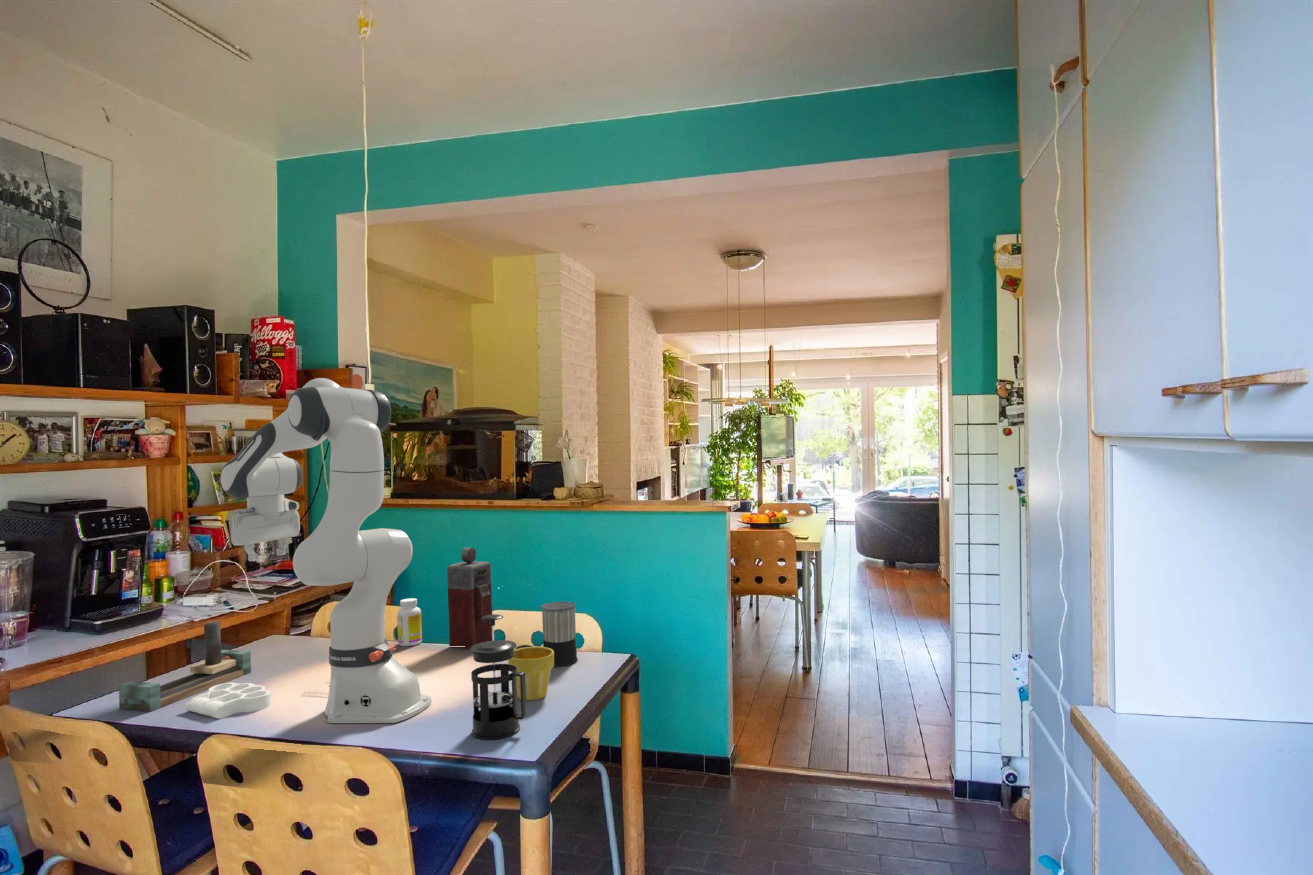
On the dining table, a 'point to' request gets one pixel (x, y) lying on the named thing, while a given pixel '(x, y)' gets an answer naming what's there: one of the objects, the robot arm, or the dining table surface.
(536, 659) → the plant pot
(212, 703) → the white paint palette
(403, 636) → the supplement bottle
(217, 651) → the cylinder
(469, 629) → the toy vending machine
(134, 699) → the rail track
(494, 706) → the french press
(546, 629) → the milk frother
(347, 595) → the robot arm
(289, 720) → the dining table surface
